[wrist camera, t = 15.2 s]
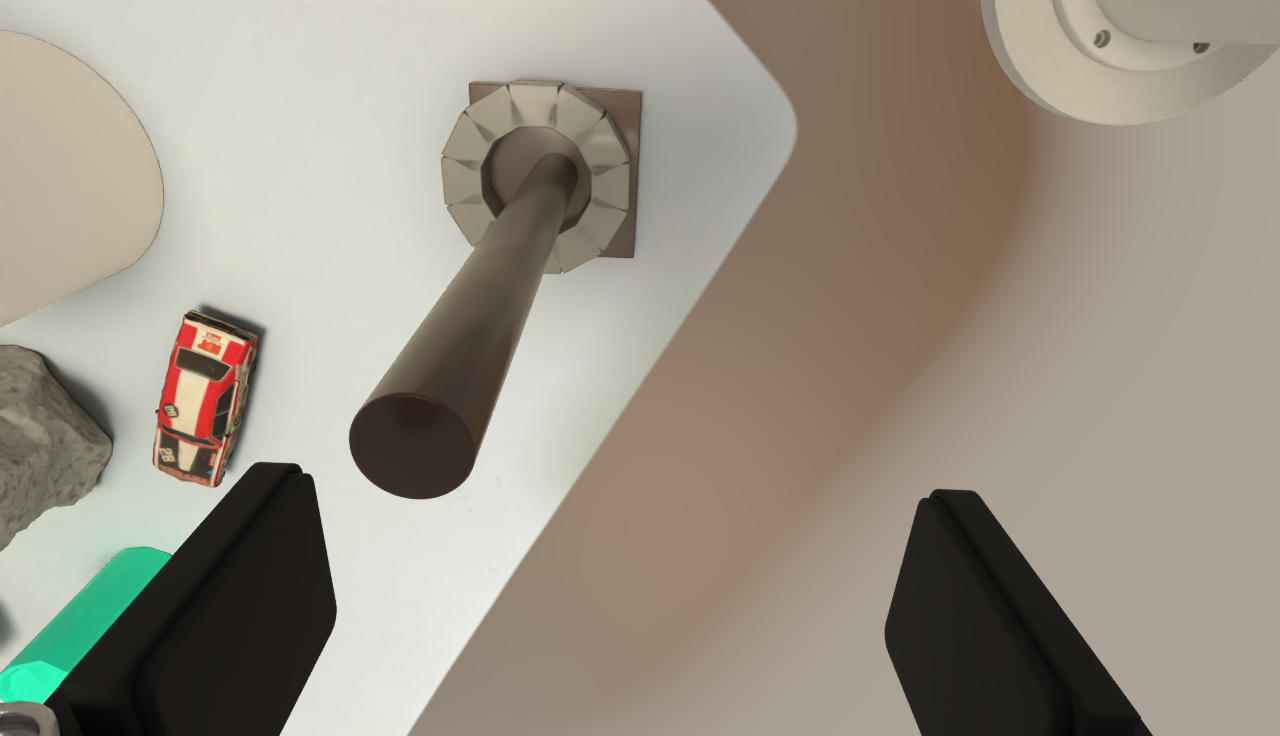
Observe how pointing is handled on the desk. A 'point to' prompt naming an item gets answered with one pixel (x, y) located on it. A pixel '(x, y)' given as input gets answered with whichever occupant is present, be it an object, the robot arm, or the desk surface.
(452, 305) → the post
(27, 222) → the canister
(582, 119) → the grey faceted ring
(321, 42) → the desk surface
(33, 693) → the candle
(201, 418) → the race car
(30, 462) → the decorative stone
